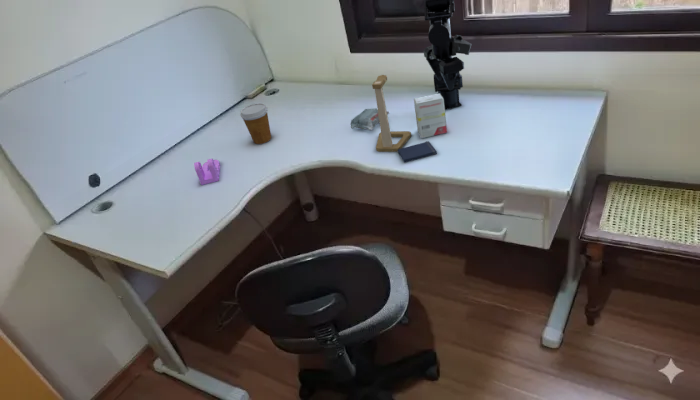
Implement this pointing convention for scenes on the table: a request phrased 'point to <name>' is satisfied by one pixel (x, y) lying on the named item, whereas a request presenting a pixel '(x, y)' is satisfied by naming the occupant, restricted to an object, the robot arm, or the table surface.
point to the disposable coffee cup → (257, 122)
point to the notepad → (417, 151)
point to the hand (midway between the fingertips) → (445, 85)
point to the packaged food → (366, 119)
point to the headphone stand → (386, 122)
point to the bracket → (205, 174)
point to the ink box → (430, 115)
